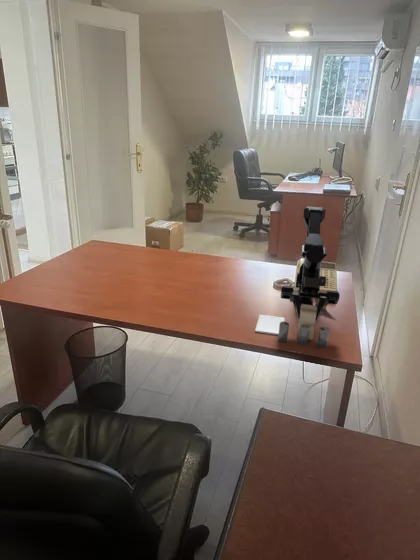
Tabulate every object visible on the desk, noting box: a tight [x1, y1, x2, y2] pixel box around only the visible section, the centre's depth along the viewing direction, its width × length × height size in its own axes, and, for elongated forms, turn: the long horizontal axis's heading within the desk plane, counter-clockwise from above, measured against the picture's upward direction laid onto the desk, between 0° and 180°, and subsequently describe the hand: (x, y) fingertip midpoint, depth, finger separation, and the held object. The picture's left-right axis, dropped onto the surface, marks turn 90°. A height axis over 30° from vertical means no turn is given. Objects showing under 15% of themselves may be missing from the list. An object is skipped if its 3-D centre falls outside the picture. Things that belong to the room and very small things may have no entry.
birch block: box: [296, 303, 317, 340], centre depth 132 cm, size 5×5×10 cm
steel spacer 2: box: [316, 326, 330, 349], centre depth 127 cm, size 3×3×6 cm
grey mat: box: [254, 314, 286, 336], centre depth 139 cm, size 12×9×1 cm
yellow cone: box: [314, 298, 329, 311], centre depth 151 cm, size 5×5×10 cm
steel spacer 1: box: [277, 321, 290, 343], centre depth 129 cm, size 3×3×6 cm
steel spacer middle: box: [297, 324, 310, 346], centre depth 128 cm, size 3×3×6 cm
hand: (307, 319), depth 130 cm, fingers closed on birch block, 5 cm apart
